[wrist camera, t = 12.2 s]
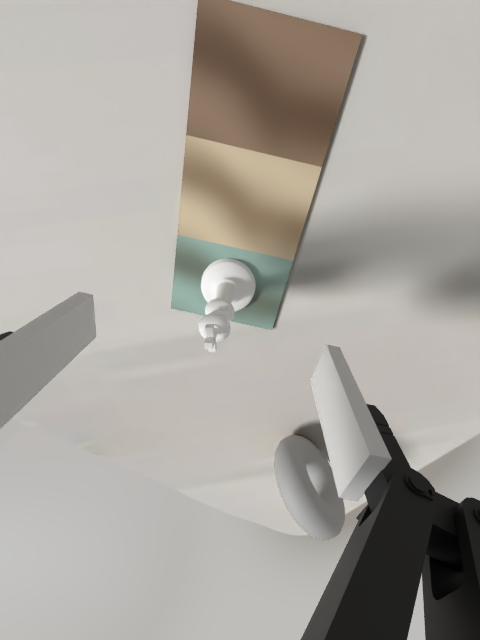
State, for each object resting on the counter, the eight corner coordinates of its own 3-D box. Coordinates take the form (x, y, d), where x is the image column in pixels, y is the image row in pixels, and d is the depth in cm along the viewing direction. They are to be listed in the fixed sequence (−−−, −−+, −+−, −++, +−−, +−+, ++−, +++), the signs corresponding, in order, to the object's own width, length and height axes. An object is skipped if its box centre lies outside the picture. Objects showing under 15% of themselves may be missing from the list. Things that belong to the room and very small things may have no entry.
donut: (337, 456, 34) (364, 553, 25) (315, 466, 35) (333, 562, 26) (288, 413, 31) (299, 505, 22) (266, 426, 32) (268, 518, 23)
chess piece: (254, 256, 22) (249, 304, 13) (256, 308, 24) (254, 379, 16) (197, 259, 23) (157, 308, 14) (205, 310, 25) (174, 380, 16)
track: (199, -5, 16) (198, -8, 15) (360, 37, 16) (362, 34, 16) (172, 306, 25) (171, 308, 25) (271, 328, 26) (271, 330, 25)
